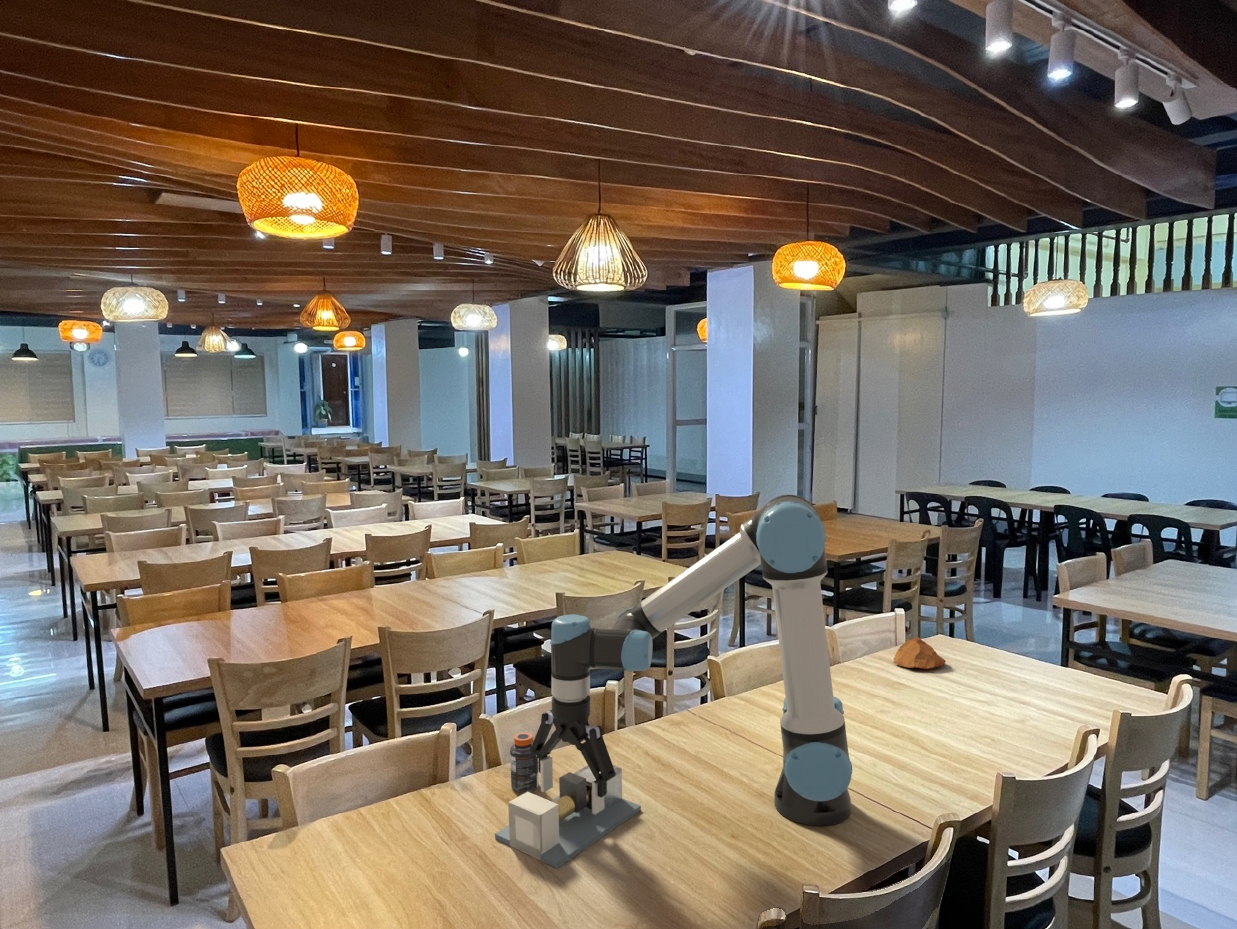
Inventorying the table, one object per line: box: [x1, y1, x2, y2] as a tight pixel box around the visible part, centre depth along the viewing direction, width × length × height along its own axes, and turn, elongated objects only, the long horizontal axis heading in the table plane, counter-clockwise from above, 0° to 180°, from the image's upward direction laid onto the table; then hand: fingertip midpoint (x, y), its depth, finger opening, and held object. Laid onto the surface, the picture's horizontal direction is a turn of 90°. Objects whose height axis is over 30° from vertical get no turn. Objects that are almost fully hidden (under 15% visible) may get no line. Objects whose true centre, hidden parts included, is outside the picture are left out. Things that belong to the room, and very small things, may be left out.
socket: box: [508, 791, 559, 862], centre depth 150 cm, size 8×5×8 cm, turn 52°
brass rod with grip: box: [554, 772, 592, 821], centre depth 160 cm, size 4×15×7 cm, turn 142°
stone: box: [893, 637, 946, 670], centre depth 247 cm, size 15×15×10 cm
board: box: [494, 795, 642, 869], centre depth 158 cm, size 16×25×1 cm, turn 142°
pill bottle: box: [509, 732, 540, 793], centre depth 173 cm, size 6×6×11 cm
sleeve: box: [573, 764, 623, 816], centre depth 164 cm, size 6×8×6 cm
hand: (571, 800), depth 158 cm, fingers open, 13 cm apart
